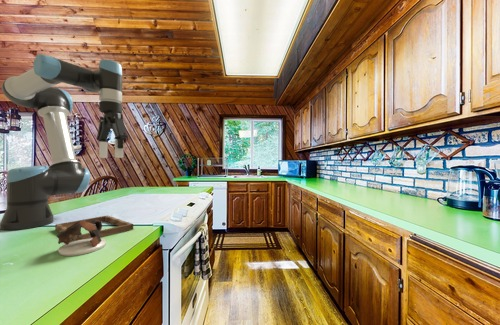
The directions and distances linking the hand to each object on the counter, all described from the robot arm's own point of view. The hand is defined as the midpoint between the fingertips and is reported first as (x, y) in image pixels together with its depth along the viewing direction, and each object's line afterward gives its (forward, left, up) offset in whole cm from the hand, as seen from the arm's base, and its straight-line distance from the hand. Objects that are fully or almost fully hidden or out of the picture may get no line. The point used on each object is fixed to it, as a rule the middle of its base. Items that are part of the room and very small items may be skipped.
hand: (110, 157), depth 86 cm
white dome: (+16, -14, -27) cm, 34 cm away
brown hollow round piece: (+16, -14, -26) cm, 33 cm away
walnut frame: (-2, -5, -27) cm, 27 cm away
